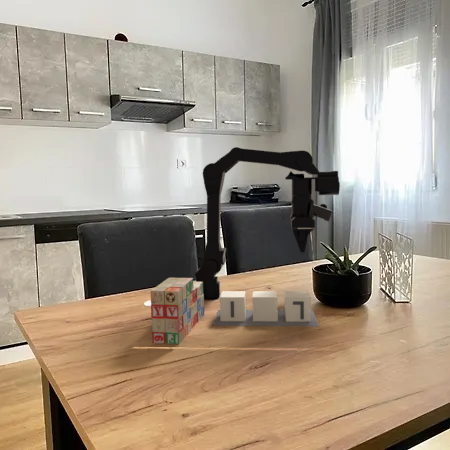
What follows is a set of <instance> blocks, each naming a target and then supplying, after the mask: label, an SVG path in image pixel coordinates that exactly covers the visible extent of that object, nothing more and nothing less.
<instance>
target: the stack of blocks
mask: <svg viewBox="0 0 450 450" xmlns="http://www.w3.org/2000/svg"><path fill="white" fill-rule="evenodd" d="M150 300H151V306H150V313H151V314H150V316H151V330H152V331H151V337H152V338H151V340H152V344H154V343H155V344H172V345H180V344H181V343H182V342H183V341H184V340H185V339H186V337H187V336H188V335H189V334H190V333H191V332H192V329H194V327H195V326H196V324H198V323H199V322H200V321H201V320H202V319H203V317H204V316H205V300H204V294H203V282H196V281H194V278H193V277H168V278H166V279H165V280H163V281H162V282H161V283H160V284H158V285H157V286H155V287H153V288H152V289H150Z"/></svg>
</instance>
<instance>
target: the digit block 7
mask: <svg viewBox="0 0 450 450" xmlns="http://www.w3.org/2000/svg"><path fill="white" fill-rule="evenodd" d="M283 293H284V310H285V319H286V321H300V322H311V310H312V297H311V294H310V292H309V290H294V291H293V290H285V291H284V292H283Z"/></svg>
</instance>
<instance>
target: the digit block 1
mask: <svg viewBox="0 0 450 450" xmlns="http://www.w3.org/2000/svg"><path fill="white" fill-rule="evenodd" d="M219 303H220V304H219V308H220V309H219V310H220V321H245V316H246V310H247V309H246V308H247V307H246V291H245V290H240V291H239V290H238V291H237V290H227V291H226V290H223V291H221V292H220V296H219Z"/></svg>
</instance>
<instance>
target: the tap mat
mask: <svg viewBox="0 0 450 450" xmlns="http://www.w3.org/2000/svg"><path fill="white" fill-rule="evenodd" d="M212 327H319V322H318V321H317V318H316V316H315V313H314V310H313V309H311V322H300V321H286V319H285V309H280V310H279V309H278V321H253V309H246V316H245V321H220V309H217V312H216V314H215V318H214V322H213V324H212Z"/></svg>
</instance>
